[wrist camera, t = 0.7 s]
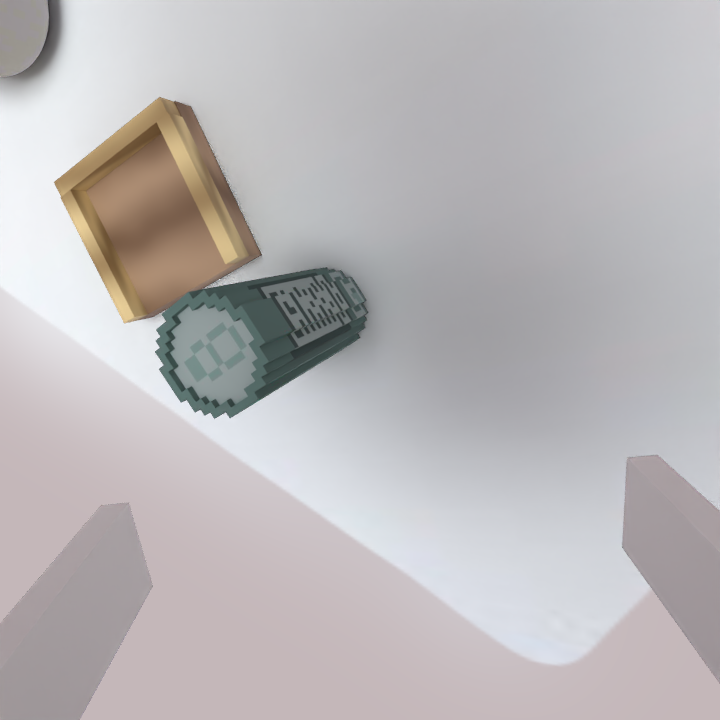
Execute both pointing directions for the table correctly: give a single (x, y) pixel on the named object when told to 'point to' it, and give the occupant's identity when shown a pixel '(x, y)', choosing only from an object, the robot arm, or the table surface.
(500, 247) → the table surface
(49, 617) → the robot arm
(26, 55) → the teacup
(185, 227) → the tray
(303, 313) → the can
